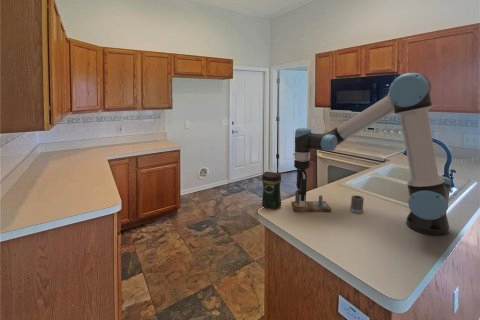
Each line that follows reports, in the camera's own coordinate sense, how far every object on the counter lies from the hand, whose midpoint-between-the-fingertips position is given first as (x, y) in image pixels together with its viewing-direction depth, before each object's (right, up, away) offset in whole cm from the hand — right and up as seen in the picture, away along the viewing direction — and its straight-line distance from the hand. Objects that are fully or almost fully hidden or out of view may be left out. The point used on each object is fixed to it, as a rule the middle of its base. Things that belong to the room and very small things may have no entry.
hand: (300, 203), depth 137 cm
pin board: (+5, -2, 0) cm, 6 cm away
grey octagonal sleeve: (+27, -3, -4) cm, 27 cm away
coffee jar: (-15, -2, +3) cm, 15 cm away
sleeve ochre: (0, -1, 0) cm, 1 cm away
